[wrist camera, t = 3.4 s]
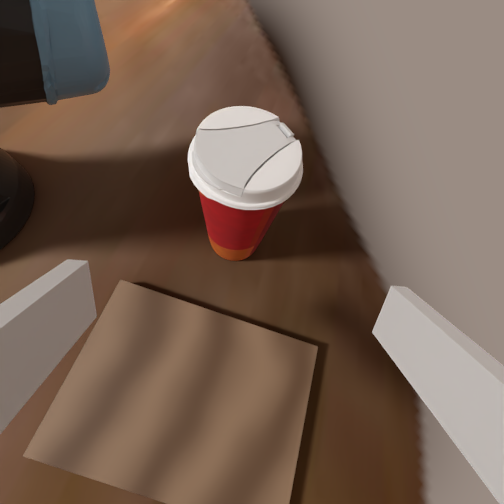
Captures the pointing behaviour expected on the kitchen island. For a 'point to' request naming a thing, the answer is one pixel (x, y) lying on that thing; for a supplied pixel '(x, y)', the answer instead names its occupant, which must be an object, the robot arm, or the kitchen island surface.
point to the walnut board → (181, 404)
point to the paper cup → (243, 175)
